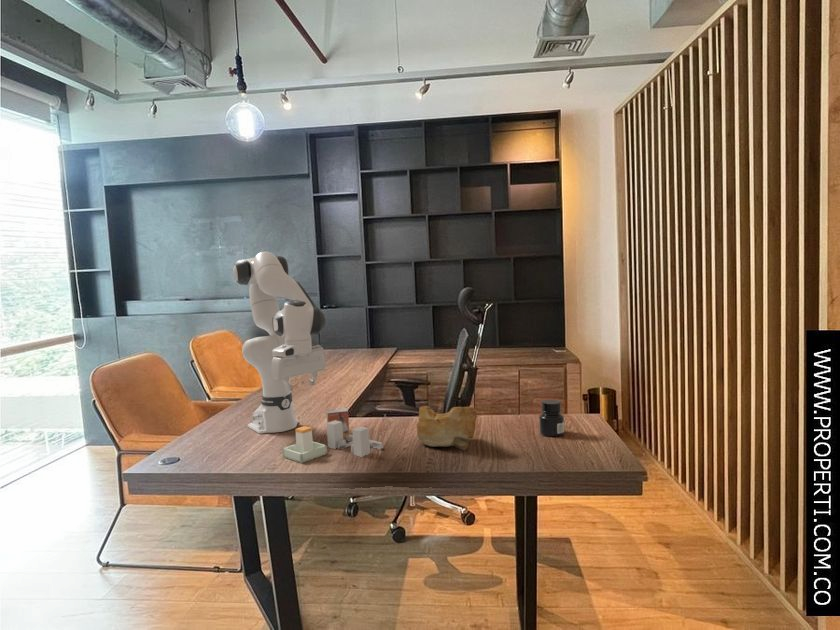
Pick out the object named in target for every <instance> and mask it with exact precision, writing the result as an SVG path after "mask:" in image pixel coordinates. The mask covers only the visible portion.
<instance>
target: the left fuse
mask: <svg viewBox="0 0 840 630" xmlns="http://www.w3.org/2000/svg"><path fill="white" fill-rule="evenodd" d="M326 439H327V448H329V449H332V448H333V450H337V449H338V441H340V440H342V439H344V438H343V427H342V422H340V421H336V420H334V421H331V422H328V423H327V422H326ZM336 448H337V449H336Z"/></svg>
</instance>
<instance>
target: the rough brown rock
mask: <svg viewBox="0 0 840 630" xmlns="http://www.w3.org/2000/svg"><path fill="white" fill-rule="evenodd" d="M418 410H419V411H418V421H417V423H416V428H417V429H416V431H417V433H416V434H417V435H416V436H417V438H418V440H419V441H421V443H422V444H424V445H425V446H428V447H435V448H436V447H453V446H454V447H456V448H458V449H459V450H461V451H465V450H466V449H467V448H468V447H469V444H470V440H471V439H473V438H474V435H475V431H476V426H477V425H476V423H477V417H478V413H477V412H478V411H477V409H476V408H474V407H472V406H456V407H455V406H453V407H451V408H450V410H449V411H448V412H445V413H439V412H436V411H434V409H433V408H432V407H430V406H429V405H423V406H422V405H421V406H420V407H419V409H418Z"/></svg>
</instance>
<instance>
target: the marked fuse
mask: <svg viewBox="0 0 840 630" xmlns="http://www.w3.org/2000/svg"><path fill="white" fill-rule="evenodd" d="M294 429H295V441H296V442H295V444H296V447H297V452H299V453H304V452H307V451H310V450H313V441H314V439H313V427H310V426H306V425H304V426H300V427H297V428H294Z"/></svg>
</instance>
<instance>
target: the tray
mask: <svg viewBox="0 0 840 630" xmlns="http://www.w3.org/2000/svg"><path fill="white" fill-rule="evenodd" d="M322 455H323V456H325V455H328V444H327V445H326V444H324V443H320V442H316V441H314V440H313V450H310V451H307V452H304V453H299V452H297V447H296V443H294V444H292V445H288V446H286V447H283V448H282V458H285V459H288V460H290V459H291V461H294V462H296V463H299V464H304V463H307V462H310V461H312V460H314V458H315V459H317V458H319V457H322Z"/></svg>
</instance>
